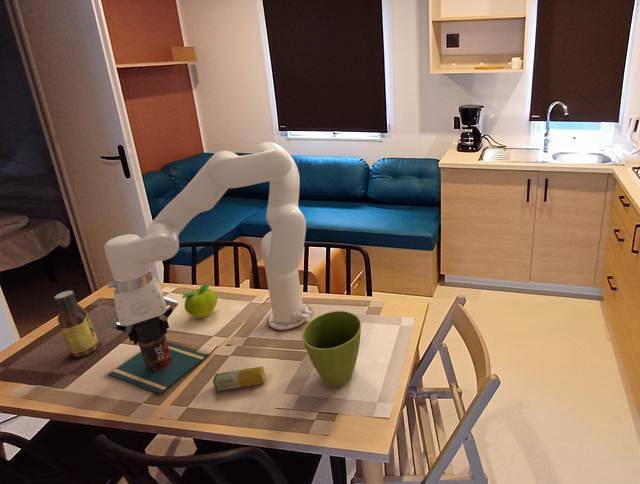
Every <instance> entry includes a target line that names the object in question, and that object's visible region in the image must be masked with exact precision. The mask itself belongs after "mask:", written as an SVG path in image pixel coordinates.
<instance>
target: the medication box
mask: <svg viewBox="0 0 640 484" xmlns="http://www.w3.org/2000/svg"><path fill="white" fill-rule="evenodd" d="M265 381H266V372H265V369H264V366H256V367H249V368H242V369H237V370H230V371H225V372H217V373H215V374H214V377H213V381H212V383H213V386H214V388H215V390H216V392H218V391H225V390H230V389H236V388H243V387H249V386H256V385H261V384H262V385H263V384H265Z"/></svg>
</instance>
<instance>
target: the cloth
mask: <svg viewBox="0 0 640 484" xmlns="http://www.w3.org/2000/svg"><path fill="white" fill-rule="evenodd" d="M167 344H168V347H169V351H170V354H171V358H172V362H171V363H170V364H169V365H168V366H167V367H166V368H164V369H162V370H160V371H157V372H148V371H147V369H146V366H145V362H144V359H143V356H142V353H141V351H140V352H139V353H137V354H136V355H134V356H133V357H132V358H130V359H128V360H126V361H125V362H124V363H122V364H121V365H119V366H118V367H116V368H114V369H113V370H111V371H110V372H109V373H108V376H110V377H113V378H117V379H119V380H122V381H125V382H127V383H129V384H132V385H135V386H137V387H140V388H142V389H145V390H148V391H151V392H153V393H156V394H159V395H161V394H162V393H164V392H165V391H167V389H169V388H170V387H171V386H173V384H175V383H176V382H178V381H179V380H180V379H181V378H182V377H183V376H185V375H186V374H187V373H189V372H190V371H191V370H192V369H193V368H195V367H196V366H197V365H198V364H200V363H201V362H202V361H204V360H205V359H206V358H207V357H208V355H207V354H204V353H201V352H199V351H195V350H192V349H189V348H185V347H182V346H179V345H176V344H173V343H170V342H167Z"/></svg>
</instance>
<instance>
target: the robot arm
mask: <svg viewBox="0 0 640 484" xmlns="http://www.w3.org/2000/svg"><path fill="white" fill-rule="evenodd" d="M267 182H269V191H268V192H269V193H268V201H267V208H266V213H265V216H266V217H265V218H266V222H267V224H268V226H269V227H270V229H271V231H269V232H267V233H266V234H264V236H263V237H262V239H261V241H260V245H259V246H260V255H261V259H262V262H263V267H264V271H265V277H266V283H267V289H268V295H269V300H270V305H271V314H270V315H269V317H268V324H269V326H270V327H271V328H272V329H274V330H279V331H280V330H281V331H284V330H290V329H294V328H296V327H298V326H300V325H302V324H303V323H304V322H310V321H311V320H312V319H311V318H312V316H311V315H312V314H313V310H309V307H308V306H307V305H306V303H304V302H303V296H302V295H303V294H302V289H301V281H300V276H299V275H300V273H299V266H300V264H301V262H302V260H303V255H304V249H305V240H306V234H307V233H306V232H307V220H306V217H305V215H304V213H303V212H302V211H301V210H300V208H299V200H300V187H301V186H300V184H301V183H300V182H301V180H300V172H299V169H298V166H297V163H296V162H295V160H294V158H293V157H292V155H291V154H290V153H289V152H288V151H287V150H286V149H285V148H283V147H282V146H281V145H278V144H277V143H275V142H272V141H263V142H261V143H259V144H257V146H255V148H254V150H253V153H250V154H244V155H239V154H236V153H235V152H233V151H229V150H219V151H217V152H216V153H214V154H213V155H212V156H211V157H210V158H208V160H207V161H206V162H205V164H204V165H203V166H202V167H201V168H200V169H199V170H198V172H197V173H196V174H195V175H194V177H192V179H191V180H190V181H189V182H188V184H187V185H186V186H185V187H184V188H183V189H182V190H181V191H180V192H179V193H178V194H177V195H176V196H175V197H174V198H173V199H172V200H170V201H169V202H168V203H167V204H166V205H165V206H164V207H163V209H161V211H160V212H159V213H158V214H157V216H156V217H154V219H153V220H152V222H150V223H149V225H148V226H147V228H146V230H145V232H144V236H143V237H140V236H139V235H137V234H133V233H129V234H122V235H118V236H115V237H113V238H111V239H109V240H108V241H106V242H105V244H104V247H103V249H104V254H105V256H106V259H107V262H108V266H109V269H110V272H111V275H112V278H113V280H112V281H110V282H107V287H108V289H112V288H114V291H113V301H114V307H115V313H114V315H112V317H111V318H110V319H109V321H108V322H107V328H110V329H116V330H117V331H121V332H124V333H125V334H127V336H128V338H129V341H130V342H133V345H138V340H137V337H136V334H135V331H134V328H133V324H136V323H139V322H142V321H145V320H148V319H151V318H154V317H157V316H158V317H159V318H160V320H161V326H162V329H163V333H164V334H165V335H166V334H168V329H170V325H169V322H168V319H169V317H170V316H171V315H172V314H173V312H174V311H175V309H176V308H178V306H179V301H178V300H176V299H172V298H169V297H167V296H165V295H164V291H163V289H162V287H161V285H160V283H159V281H158V280H157V278H156V277H155V276H153V274H152V271H151V267H150V264H149V263H155V262H163V261H167V260H169V259H172V258H173V257H175V256H176V254H177V253H178V252H179V249H180V241H179V236H180V234H181V233H182V231H183V230H184V229H185V227H186V226H187V225H188V224H189V222H191V221H192V220H193V219H194V218H195V217H197V215H200V213H203V212H204V213H205V212H207V211H211V210H212V209H213V208H214V207H215V206H216V205H217V203H218V202H219V201H220V200H221V198H222V197H223V196H224V195H225V194H226V192H227V191H228V190H229V189H237V188H243V187H249V186H253V185H257V184H262V183H267ZM167 305H168V307H167Z"/></svg>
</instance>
